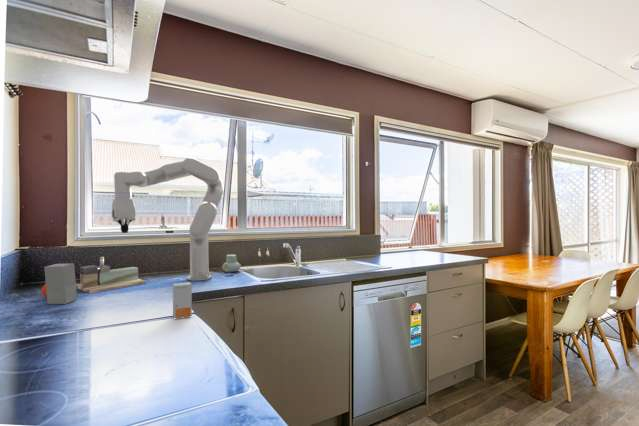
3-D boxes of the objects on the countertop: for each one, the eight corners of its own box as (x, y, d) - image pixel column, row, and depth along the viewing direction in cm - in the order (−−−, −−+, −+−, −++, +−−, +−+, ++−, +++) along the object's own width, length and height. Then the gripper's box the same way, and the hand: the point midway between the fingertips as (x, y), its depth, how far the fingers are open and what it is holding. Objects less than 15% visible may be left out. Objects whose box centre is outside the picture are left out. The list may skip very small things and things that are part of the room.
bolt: (107, 270, 173) (107, 256, 172) (84, 274, 165) (83, 258, 165) (105, 270, 174) (105, 256, 174) (82, 273, 166) (82, 258, 166)
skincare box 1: (77, 300, 148) (77, 262, 148) (63, 305, 141) (63, 265, 141) (59, 299, 149) (58, 262, 149) (44, 304, 142) (43, 265, 142)
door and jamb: (145, 283, 179) (145, 262, 179) (90, 293, 160) (89, 269, 159) (129, 279, 190) (128, 258, 190) (75, 287, 171) (75, 265, 170)
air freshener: (242, 271, 212) (242, 255, 212) (231, 273, 205) (231, 256, 205) (231, 269, 219) (231, 253, 218) (220, 271, 212) (220, 255, 212)
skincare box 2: (173, 320, 123) (173, 285, 122) (172, 316, 127) (172, 283, 126) (192, 317, 126) (191, 284, 125) (190, 314, 129) (190, 281, 129)
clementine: (60, 298, 151) (60, 282, 151) (40, 301, 147) (39, 284, 147) (62, 294, 158) (62, 278, 157) (43, 296, 154) (42, 280, 154)
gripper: (135, 196, 187) (136, 231, 188) (104, 196, 175) (105, 233, 176) (141, 196, 183) (143, 231, 183) (110, 196, 171) (112, 234, 171)
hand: (124, 232), depth 180 cm, fingers closed
